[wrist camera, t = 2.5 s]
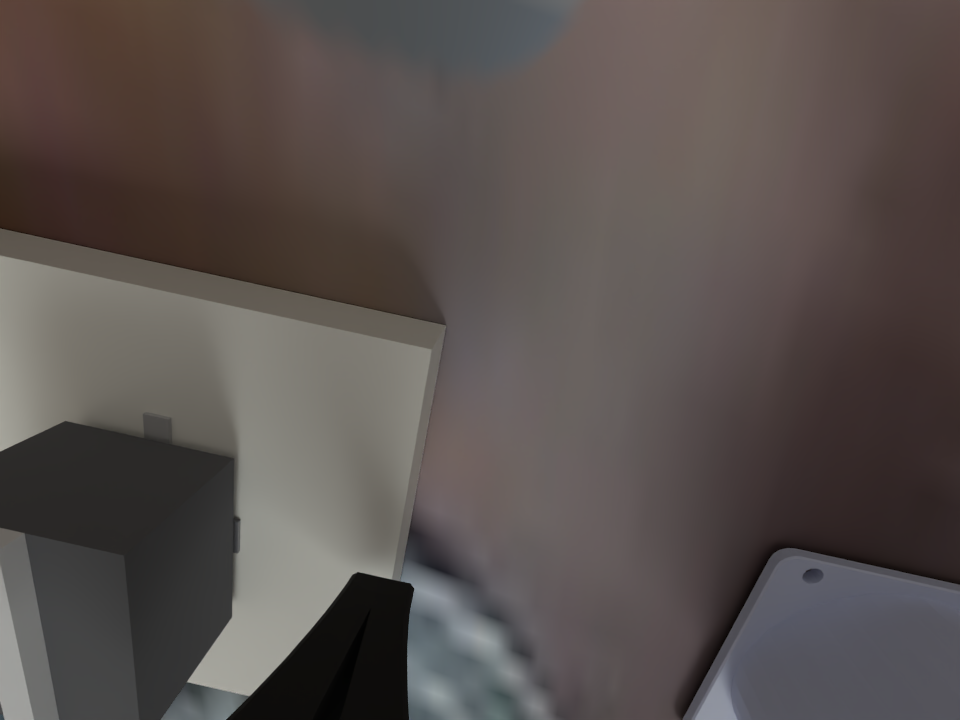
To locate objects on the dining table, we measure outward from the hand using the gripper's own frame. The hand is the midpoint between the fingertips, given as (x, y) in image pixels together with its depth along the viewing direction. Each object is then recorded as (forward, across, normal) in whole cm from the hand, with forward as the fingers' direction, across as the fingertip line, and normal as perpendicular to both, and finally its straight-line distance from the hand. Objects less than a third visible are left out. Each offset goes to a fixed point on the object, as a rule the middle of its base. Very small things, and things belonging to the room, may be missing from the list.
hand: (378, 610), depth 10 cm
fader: (+1, +6, 0) cm, 6 cm away
